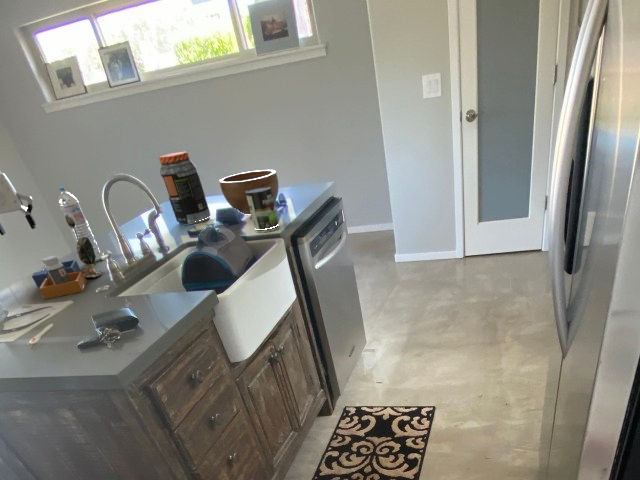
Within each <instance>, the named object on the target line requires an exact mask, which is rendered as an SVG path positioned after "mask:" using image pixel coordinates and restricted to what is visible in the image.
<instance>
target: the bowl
mask: <svg viewBox="0 0 640 480" xmlns="http://www.w3.org/2000/svg"><path fill="white" fill-rule="evenodd" d="M219 185H220V186H219V187H220V190H221V192H222V195H223V197H224V199H225V200H226V202H227V203H228V205H230V206H231V208H232V209H234V208H236V209H238V210H239V211H240V212H242V213H244V214H251V212H250V208H249V204H248V200H247V196H246V193H245V192H246V191H247V190H250V189H254V188H259V187H271V189H272V195H273V200H274V204H275V203H276V201H277V198H278V196H279V187H280V186H279V178H278V174H277V171H276V170H274V169H261V170H260V169H258V170H252V171H245V172H240V173H236V174H232V175H228V176H225V177H223V178H221V179H219ZM240 212H239V213H240ZM242 213H241V214H242ZM244 214H243V215H244Z"/></svg>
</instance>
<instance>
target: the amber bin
mask: <svg viewBox="0 0 640 480" xmlns="http://www.w3.org/2000/svg"><path fill="white" fill-rule="evenodd" d="M82 271H83V270H80V271H79V272H74V273H69V274H68V275H69V277H70V279H71V282H67V283H62V284H57V285H53V283H52V281H51V279H50V277H49V278H45V280H44V281H43V283H42V285H41V286H40V288H39V289H38V290H39V292H40V293H41V295H42V297H43V299H44V300H48V299H52V298H57V297H61V296H67V295H72V294H76V293H81V292H83V291H84V289H85V286H86V284H87V279H86V277H84V275H83V272H82Z"/></svg>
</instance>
